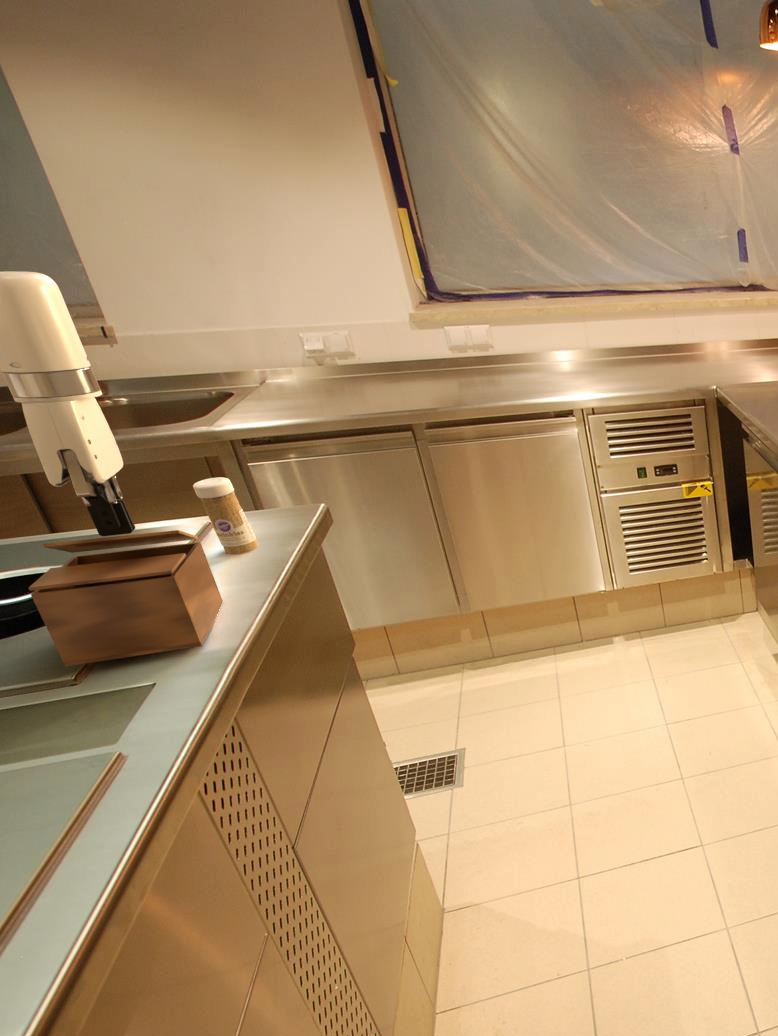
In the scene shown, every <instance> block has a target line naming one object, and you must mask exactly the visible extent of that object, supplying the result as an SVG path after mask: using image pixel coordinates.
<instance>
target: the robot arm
mask: <svg viewBox="0 0 778 1036" xmlns="http://www.w3.org/2000/svg"><path fill="white" fill-rule="evenodd" d="M0 372H1V374H2V376H3V379H4V381H5V383H6V386H7V388H8V389H9V391H10V393H11V396H12V399H13V400H14V402H16V403H21V408H22V412H23V416H24V419H25V424H26V427H27V428H28V431H29V435H30V437H31V440H32V443H33V446H34V449H35V450H36V453H37V456H38V458H39V461H40V463H41V466H42V469H43V471H44V473H45V476H46V478H47V481H48V482H49V484H50V485H52V486H53V487H56V488H61V487H64V486H65V485H67V484H68V483H70V482H71V483H72V487H73V490H74V492H75V495H76V496H77V497H78V498H81V500H82V502H83V504H84V506H86V507H85V508H87V511H88V513H89V516H90V518H91V520H92V522H93V524H94V527H95V529H96V532H97V534H98V535H99V536H100V537H112V536H122V535H131V534H132V533H133V531H135V530H136V525H135V522H134V520H133V517H132V516H131V513H130V511H129V508H128V506H127V504H126V502H125V500H124V499H123V498H124V497H123V493H122V491H121V488H120V485H119V482H118V480H117V473H119V472H120V470H122V469H123V468H124V460H123V456H122V454H121V451H120V449H119V446H118V443H117V441H116V439H115V437H114V434H113V432H112V429H111V427H110V425H109V423H108V421H107V419H106V417H105V414H104V413H103V411H102V408H101V406H100V405H99V403H98V401H97V399H96V398H97V397H101V396H103V392H102V389H101V387H100V385H99V382H98V380H97V377H96V375H95V372H94V370H93V367H92V365H91V362H90V360H89V358H88V355H87V352H86V350H85V348H84V346H83V344H82V341H81V338H80V336H79V334H78V331H77V329H76V325H75V324H74V322H73V319H72V316H71V314H70V312H69V310H68V307H67V304H66V302H65V300H64V297H63V294H62V292H61V290H60V288H59V286H58V284H57V283H56V281H54V279H52V278H51V277H50V276H48V275H46V274H44V273H41V272H36V271H19V270H18V271H17V270H16V271H15V270H14V271H13V270H12V271H11V270H10V271H6V270H5V271H4V270H3V271H1V270H0Z"/></svg>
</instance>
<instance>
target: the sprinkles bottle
mask: <svg viewBox="0 0 778 1036" xmlns="http://www.w3.org/2000/svg"><path fill="white" fill-rule="evenodd" d="M192 488H193V490H194V493H195V495H196V497H197V498H198V499H199V500H200V501H201V503H202V506H203V508H204V510H205V512H206V515H207V517H208V518H209V521H210V523H211V525H212V527H213V531H214V533H215V534H216V536H217V538H218V541H219V543H220V545H221V546H222V547H223V549H224V551H225V553H226V554H228V555H239V554H244V553H249V552H251V551H254V550H256V549H257V548H259V545H260V544H259V543H258V542H259V541H258V540H257V537H256V535H255V533H254V530H253V529H252V527H251V524H250V523H249V521H248V518H247V516H246V514H245V512H244V510H243V508H242V507H241V505H240V502H239V500H238V498H237V496H236V494H235V488H234V486H233V483H232V482H231V480H230V479H229V478H227V477H223V476H221V477H209V478H205V479H202V480H199V481H196V482H194V484H193V485H192Z"/></svg>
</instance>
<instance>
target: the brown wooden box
mask: <svg viewBox="0 0 778 1036" xmlns="http://www.w3.org/2000/svg"><path fill="white" fill-rule="evenodd" d="M28 590H29V591H31V592H32V591H33V592H32V593H31V594H30V596H31V598H32V600H33V602H34V604H35V606H36V609H37V610H38V613H39V615H40V617H41V619H42V621H43V624H44V626H45V627H46V629H47V631H48V633H49V635H50V638H51V640H52V641H53V644H54V646H55V648H56V651H57V652H58V654H59V656H60V658H61V660H62V662H63V665H64V667H73V666H78V665H79V666H80V665H84V664H85V665H86V664H93V663H98V662H105V661H111V660H119V659H124V658H125V659H126V658H131V657H137V656H145V655H150V654H157V653H164V652H165V653H166V652H172V651H179V650H183V649H184V650H185V649H191V648H197V647H202V646H203V644H204V643H205V641H206V640H207V638H208V635H209V634H210V632H211V631H212V628H213V627H214V625H215V623H216V621H215V619H216V620H217V618H218V616H217V614H218V615H219V613H220V611H219V609H220V610H221V608H222V605H223V603H224V600H223V598H222V595H221V592H220V590H219V588H218V585H217V582H216V579H215V576H214V574H213V571H212V569H211V566H210V564H209V561H208V558H207V556H206V553H205V550H204V548H203V545H202V543H201V542H200V541H199V542H197V541H196V542H189V543H180V544H170V545H162V546H161V545H160V546H152V547H143V548H133V549H132V548H131V549H124V550H114V551H105V552H97V553H86V554H79V555H78V554H77V555H73V556H72V557H71V558H70V559H68V560H67V561H66V562H65V563H64V564H63V565H61V566H58V567H50V568H49V569H48V570H47V571H46V572H45V573H43V574H42V575H41V576H40V577H39V578H38V579H36V581H34V582H33V583H32V584H31V585H30V586H29V587H28ZM222 602H223V603H222ZM221 604H222V605H221ZM220 607H221V608H220ZM218 612H219V613H218ZM216 617H217V618H216ZM214 622H215V623H214ZM213 624H214V625H213Z"/></svg>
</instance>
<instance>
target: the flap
mask: <svg viewBox="0 0 778 1036" xmlns="http://www.w3.org/2000/svg"><path fill="white" fill-rule="evenodd" d="M195 540H199V536H197V535H195V534H192V533H189V532H185V531H182V530H179V529H176V530H166V531H156V532H145V533H138V534H136V533H135V534H125V535H115V536H105V537H98V538H97V537H96V538H87V539H78V540H68V541H58V542H57V541H56V542H50V543H49V542H47V543H43V544H42V546H43V548H47V549H51V550H57V551H61V552H66V553H67V552H68V553H72V554H73V553H82V552H90V551H91V552H93V551H101V550H111V549H119V548H128V547H130V548H131V547H141V546H148V545H158V544H166V543H177V542H186V541H195Z"/></svg>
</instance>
